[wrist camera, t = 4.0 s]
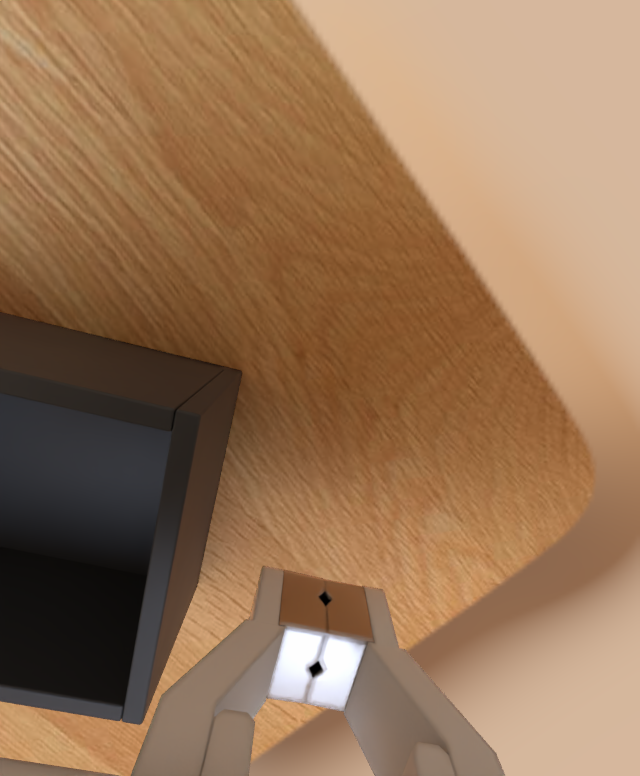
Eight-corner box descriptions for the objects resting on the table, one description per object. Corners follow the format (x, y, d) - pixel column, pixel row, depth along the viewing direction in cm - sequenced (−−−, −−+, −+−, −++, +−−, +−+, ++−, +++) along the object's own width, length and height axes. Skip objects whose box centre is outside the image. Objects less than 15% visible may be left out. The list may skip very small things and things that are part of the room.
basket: (242, 370, 12) (201, 415, 7) (197, 586, 13) (141, 726, 9) (-101, 287, 11) (-377, 280, 7) (-101, 527, 13) (-318, 649, 8)
